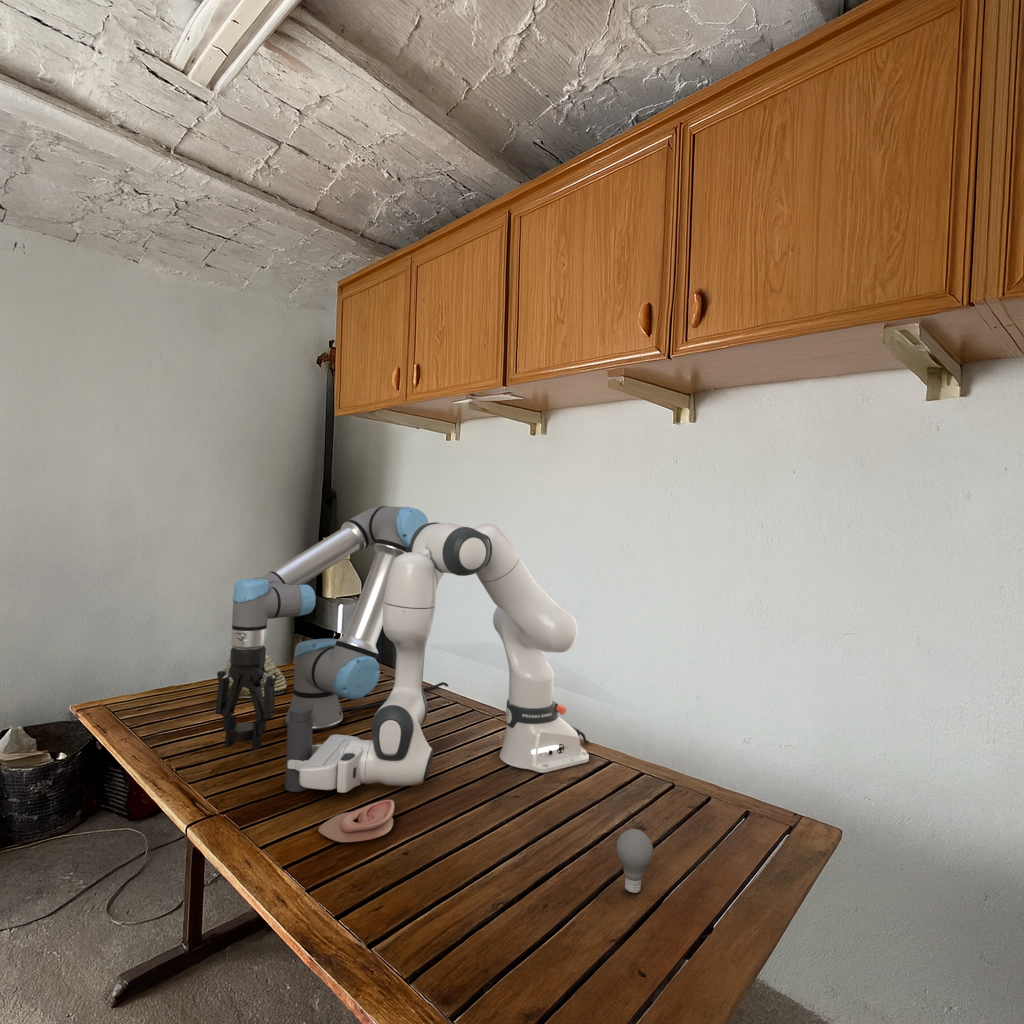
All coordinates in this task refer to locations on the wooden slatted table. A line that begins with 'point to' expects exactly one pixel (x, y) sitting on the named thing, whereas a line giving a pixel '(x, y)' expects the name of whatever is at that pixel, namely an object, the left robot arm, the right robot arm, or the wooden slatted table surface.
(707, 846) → the wooden slatted table surface
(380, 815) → the anatomical model
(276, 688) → the fossil
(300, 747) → the jar
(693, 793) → the wooden slatted table surface
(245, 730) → the lid
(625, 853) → the light bulb
